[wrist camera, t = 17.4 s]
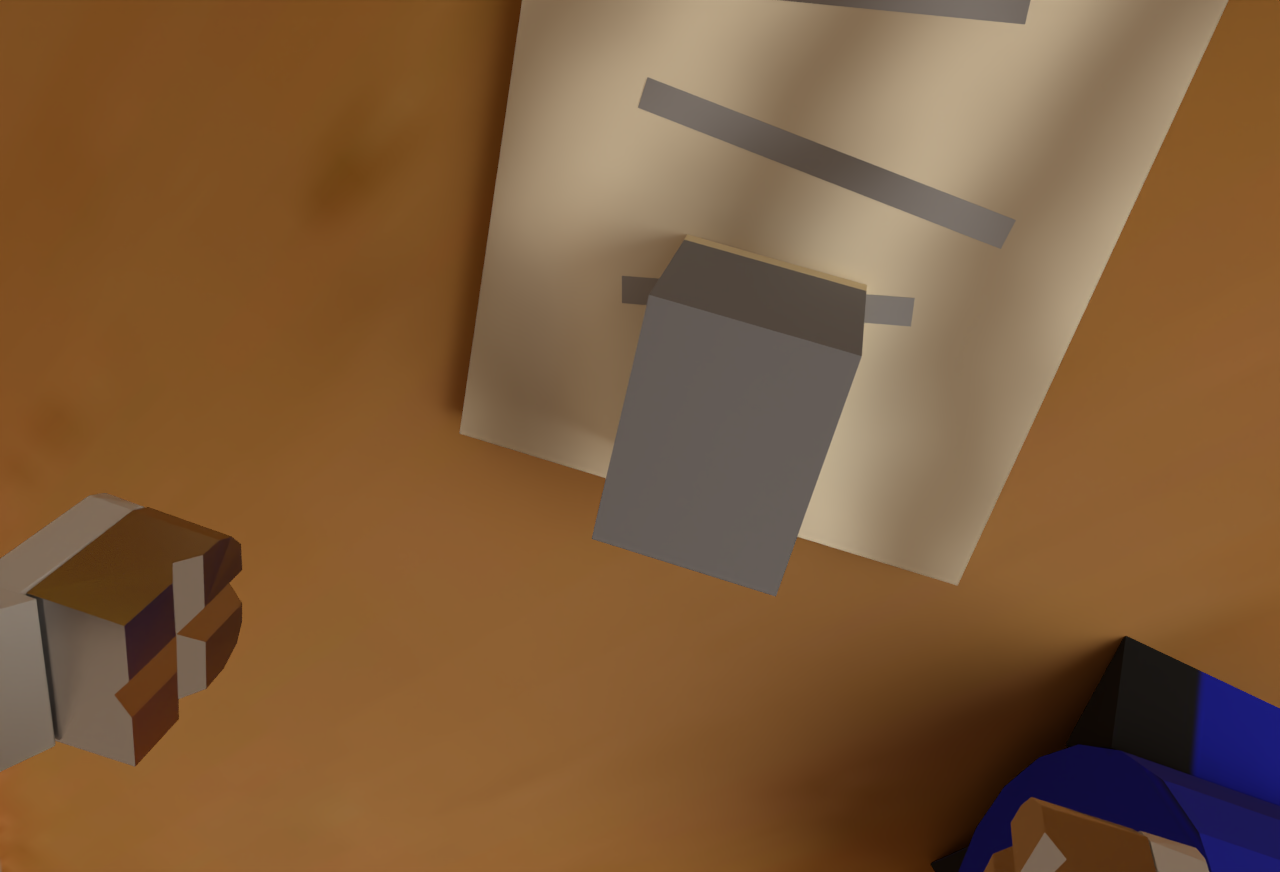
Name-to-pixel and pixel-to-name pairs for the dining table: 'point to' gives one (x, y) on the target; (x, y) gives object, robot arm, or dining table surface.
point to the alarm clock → (1158, 766)
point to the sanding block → (730, 411)
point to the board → (827, 218)
